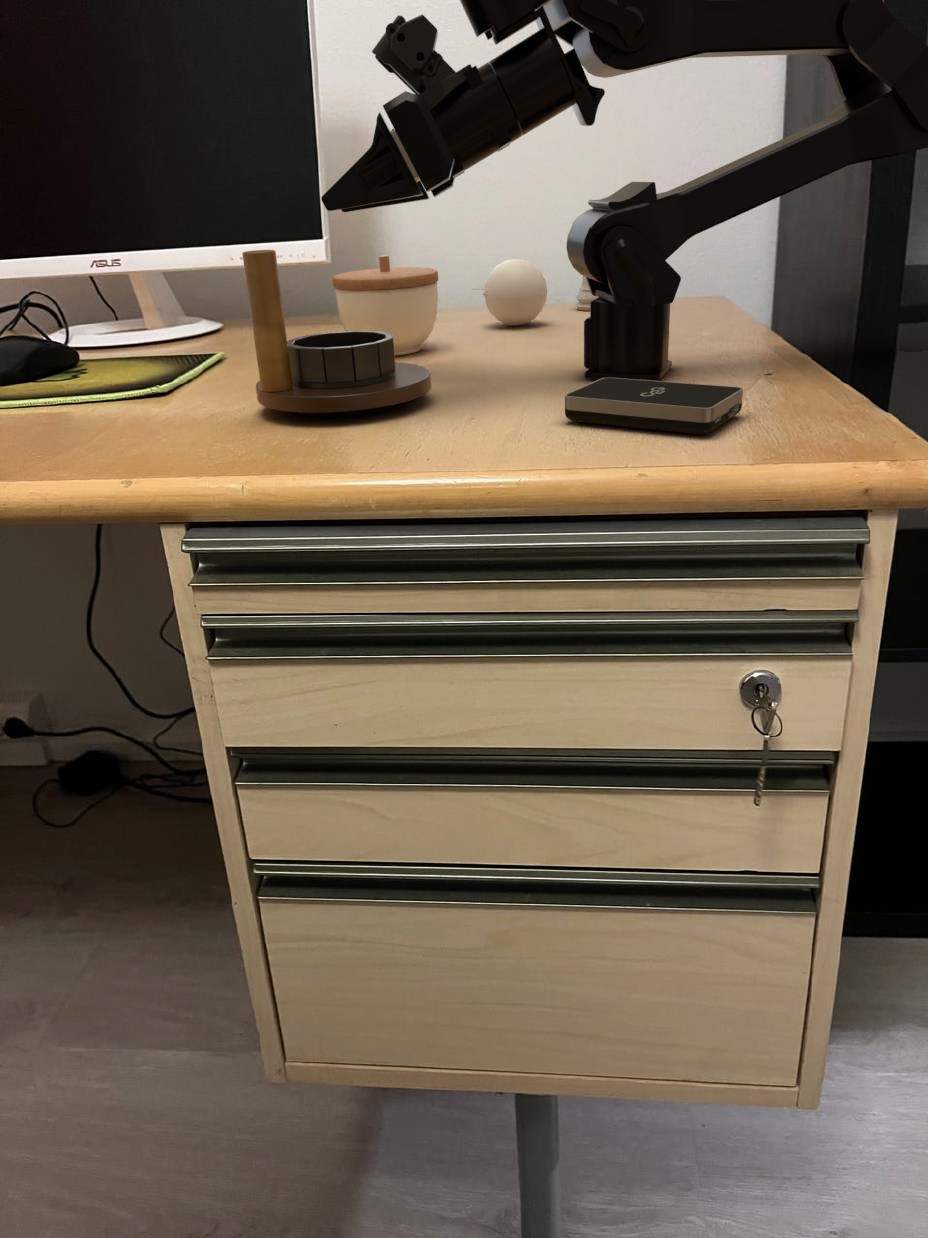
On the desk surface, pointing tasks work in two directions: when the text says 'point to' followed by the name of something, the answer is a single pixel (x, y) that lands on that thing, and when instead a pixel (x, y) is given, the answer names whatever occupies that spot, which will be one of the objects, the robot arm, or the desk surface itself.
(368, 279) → the trinket box
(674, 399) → the external hard drive
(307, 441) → the desk surface
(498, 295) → the seamed sphere
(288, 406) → the turntable
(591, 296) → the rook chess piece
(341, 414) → the turntable hub
